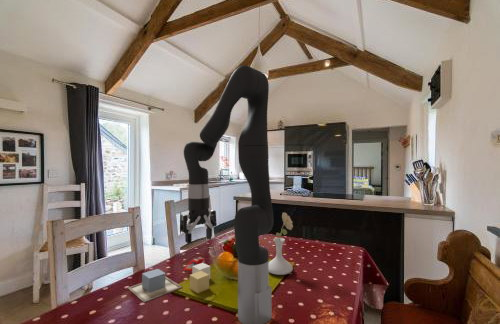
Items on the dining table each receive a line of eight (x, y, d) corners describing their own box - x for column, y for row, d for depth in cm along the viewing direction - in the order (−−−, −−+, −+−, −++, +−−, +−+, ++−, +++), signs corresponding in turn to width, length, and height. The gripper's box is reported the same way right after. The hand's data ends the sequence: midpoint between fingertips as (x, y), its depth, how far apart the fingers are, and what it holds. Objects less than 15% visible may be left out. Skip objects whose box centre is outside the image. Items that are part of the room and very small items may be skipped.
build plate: (182, 290, 92) (182, 286, 92) (144, 305, 82) (144, 301, 82) (163, 278, 102) (163, 275, 102) (127, 291, 91) (127, 287, 91)
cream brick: (210, 281, 99) (210, 266, 99) (199, 285, 95) (199, 269, 96) (202, 277, 103) (202, 262, 103) (192, 281, 99) (192, 266, 99)
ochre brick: (209, 291, 91) (209, 274, 91) (197, 296, 88) (197, 279, 88) (201, 286, 95) (201, 270, 95) (189, 291, 91) (189, 274, 91)
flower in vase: (279, 280, 100) (279, 217, 100) (260, 271, 108) (260, 212, 109) (300, 271, 108) (300, 213, 108) (281, 263, 117) (281, 209, 117)
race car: (192, 277, 104) (192, 267, 104) (181, 275, 105) (180, 265, 105) (207, 264, 116) (207, 255, 116) (196, 263, 118) (196, 254, 118)
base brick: (165, 286, 92) (165, 273, 92) (149, 292, 88) (149, 278, 88) (157, 281, 97) (157, 268, 97) (142, 287, 92) (142, 273, 92)
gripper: (187, 199, 84) (187, 247, 84) (220, 195, 95) (221, 238, 94) (175, 197, 90) (176, 243, 89) (208, 194, 100) (208, 235, 99)
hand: (199, 241), depth 92 cm, fingers open, 8 cm apart
